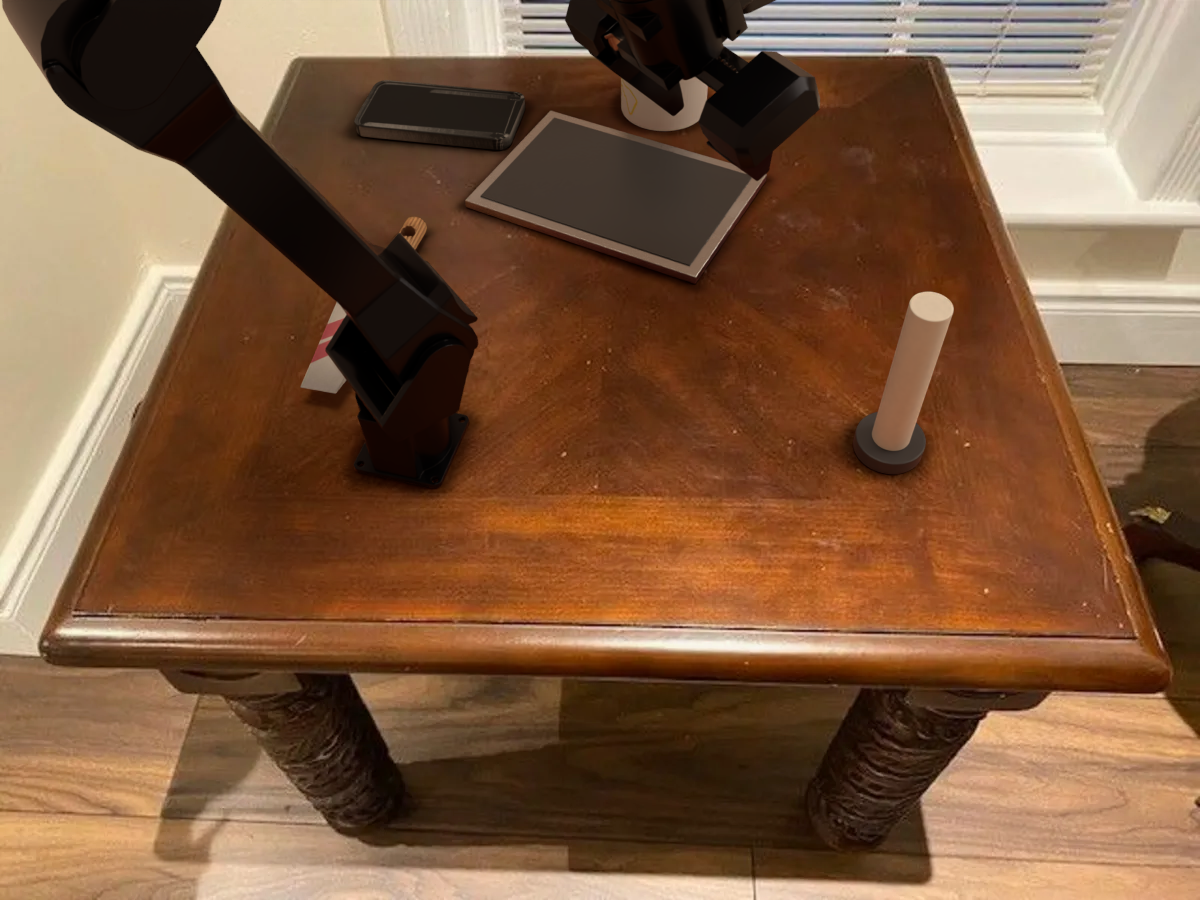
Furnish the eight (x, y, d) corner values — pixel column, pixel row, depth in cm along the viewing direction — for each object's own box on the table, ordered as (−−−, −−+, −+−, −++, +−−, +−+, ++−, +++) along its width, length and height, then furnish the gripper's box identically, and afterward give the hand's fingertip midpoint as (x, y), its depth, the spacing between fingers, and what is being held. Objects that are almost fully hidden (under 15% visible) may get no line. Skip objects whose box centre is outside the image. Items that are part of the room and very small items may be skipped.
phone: (507, 140, 94) (350, 125, 96) (508, 151, 95) (353, 135, 97) (527, 92, 99) (377, 78, 101) (528, 102, 100) (380, 88, 102)
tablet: (766, 181, 91) (767, 172, 91) (695, 284, 83) (696, 276, 83) (550, 117, 98) (550, 109, 97) (465, 207, 90) (464, 199, 89)
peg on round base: (919, 480, 71) (971, 340, 60) (849, 467, 71) (887, 326, 61) (924, 428, 73) (974, 285, 63) (856, 415, 74) (894, 273, 64)
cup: (608, 93, 100) (606, -29, 91) (685, 75, 102) (691, -47, 93) (640, 139, 96) (641, 15, 86) (720, 119, 97) (729, -4, 88)
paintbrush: (288, 371, 74) (394, 208, 87) (297, 398, 76) (399, 234, 89) (337, 380, 73) (437, 214, 86) (345, 407, 75) (441, 241, 88)
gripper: (872, -70, 53) (902, 128, 66) (656, -185, 63) (720, 8, 76) (711, 75, 53) (773, 244, 66) (519, -63, 63) (607, 109, 76)
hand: (718, 142), depth 71 cm, fingers open, 9 cm apart
